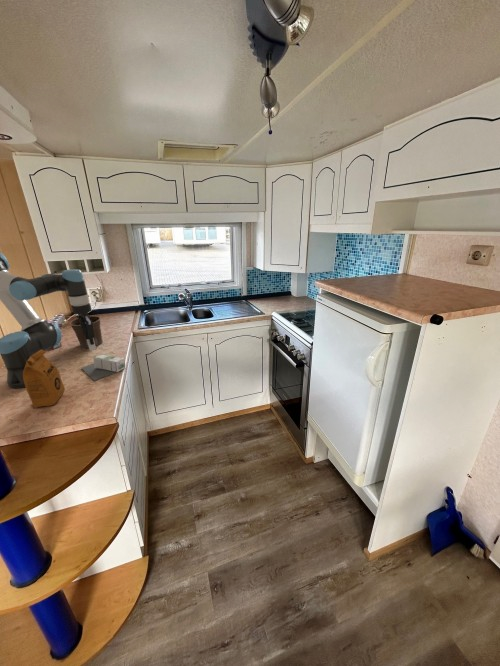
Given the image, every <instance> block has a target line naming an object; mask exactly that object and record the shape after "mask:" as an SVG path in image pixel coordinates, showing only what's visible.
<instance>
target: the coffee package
mask: <svg viewBox="0 0 500 666" xmlns="http://www.w3.org/2000/svg"><path fill="white" fill-rule="evenodd" d="M45 353H46V352H45V351H43V350H42V349H41V350H39V351H38V352H36V353H35V354H33V355H32V356H30V358H29V359H28V360H27V362H26V365H25V368H24V371H23V380H24V384H25V389H26V392H27V394H28V396H29V399H30V402H31V404H32V406H33V408H34V409H36V408H41V407H49V406H52V405H55V404H57V402H58V401H59V399H60V398H61V397H62V395H63V394H64V392H65V389H66V388H65V385H64V383H63V381H62V378H61V377H62V376H61V373H60V371H59V369H58V367H57V366H56V365H55V364H54V363H53V362H51V361H50V360H48V359H47V357H46V356H45V355H44V354H45Z"/></svg>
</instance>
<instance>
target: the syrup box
mask: <svg viewBox="0 0 500 666" xmlns="http://www.w3.org/2000/svg"><path fill="white" fill-rule="evenodd" d="M93 364H94V367H95V368H100V369H105V370H110V371H115V373H119V372H120V371H122V370H124V369H126V359H125V358H124V357H119V356H115V355H114V356H113V355H107V354H102V353H101V354H99V355H96V356H94V357H93Z"/></svg>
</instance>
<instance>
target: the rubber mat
mask: <svg viewBox="0 0 500 666" xmlns="http://www.w3.org/2000/svg"><path fill="white" fill-rule="evenodd" d="M81 370H82V371H83V372H84V373H85V374H86V375H87V376H88V377H89V378H91V380H93V381H94V382H96V381H98V379H99V380H101V379H103V377H104V378H106V377H109V376H111V374H112V375H114V374H116V372H115V371H110V370H105V369H100V368H95V367H94V363H91V364H89V365H86V366H83V367H81ZM108 375H109V376H108ZM100 378H101V379H100Z"/></svg>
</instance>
